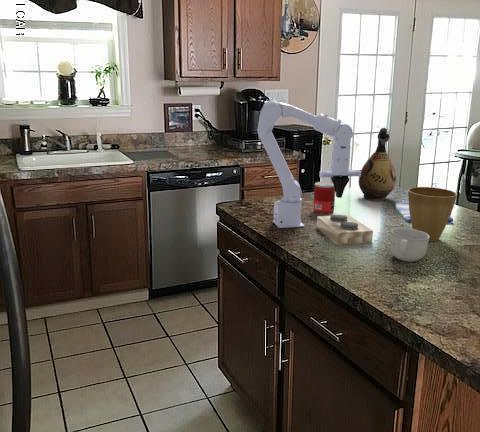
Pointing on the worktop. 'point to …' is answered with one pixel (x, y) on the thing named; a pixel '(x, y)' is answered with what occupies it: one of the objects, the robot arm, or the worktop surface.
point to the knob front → (349, 225)
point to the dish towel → (404, 211)
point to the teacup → (408, 244)
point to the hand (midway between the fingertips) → (338, 197)
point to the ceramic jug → (378, 172)
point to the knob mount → (344, 231)
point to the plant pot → (430, 209)
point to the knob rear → (338, 218)
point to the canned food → (324, 197)
